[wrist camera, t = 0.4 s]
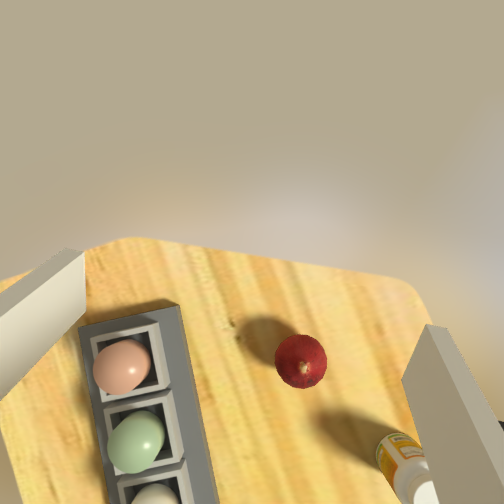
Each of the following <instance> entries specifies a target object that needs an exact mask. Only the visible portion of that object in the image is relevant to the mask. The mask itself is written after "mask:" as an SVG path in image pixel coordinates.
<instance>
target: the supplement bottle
mask: <svg viewBox="0 0 504 504" xmlns="http://www.w3.org/2000/svg"><path fill="white" fill-rule="evenodd" d="M376 461H377V464H378V466H379V468H380V470H381V472H382V473H383V475H384V476H385V478H386V480H387V481H388V483H389V484H390V486H391V488H392V489H393V491H394V493H395V494H396V496H397V497H398V499H399V500H400V501H401V503H402V504H439V501H438V498H437V495H436V491H435V488H434V485H433V482H432V478H431V475H430V472H429V469H428V465H427V462H426V459H425V456H424V452H423V449H422V448H421V447H420V445H419V444H418V443H417V442H416V441H415V440H414V439H412V438H411V437H409V436H408V435H405V434H402V433H393V434H389V435H387V436H386V437H384V438H383V439H382V440H381V441H380V443H379V445H378V447H377V450H376Z"/></svg>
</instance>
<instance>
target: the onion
mask: <svg viewBox="0 0 504 504" xmlns="http://www.w3.org/2000/svg"><path fill="white" fill-rule="evenodd" d="M275 365H276V369H277V372H278V374H279V375H280V377H281V378H282V379H283V381H284V382H285V383H287V384H289V385H290V386H292V387H295V388H301V389H305V388H308V387H312V386H315V385H316V384H317V383H318V382H319V381H320V380H321V379H322V378H323V376H324V374H325V371H326V369H327V357H326V354H325V352H324V349H323V347H322V346H321V344H320V343H319V342H318V341H317V340H316V339H314V338H312V337H310V336H308V335H300V334H297V335H294V336H291V337H288V338H287V339H286V340H285V341H283V342H282V343H281V344H280V346H279V347H278V349H277V351H276V354H275Z"/></svg>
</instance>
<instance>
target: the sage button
mask: <svg viewBox="0 0 504 504" xmlns="http://www.w3.org/2000/svg"><path fill="white" fill-rule="evenodd" d="M164 441H165V428H164V425H163V423H162V421H161V420H160V418H159V417H158V416H156V415H155V414H153V413H152V412H149V411H144V410H143V411H136V412H133V413H131V414H129V415H128V416H127V417H126V418H125V419H124V420H123V421H122V422H121V423H120V424H119V425H118V426H117V427H116V428H115V429H114V430H113V432H112V433H111V435H110V437H109V439H108V444H107V452H108V456H109V459H110V461H111V462H112V464H113V465H114V466H115V467H116V468H117V469H119V470H120V471H122V472H125V473H130V474H133V473H139V472H142V471H144V470H145V469H147V468H148V467H149V466H150V465H151V464H152V463H153V461H154V460H155V458H156V456H157V454H158V453H159V451H160V449H161V448H162V446H163V444H164Z"/></svg>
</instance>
